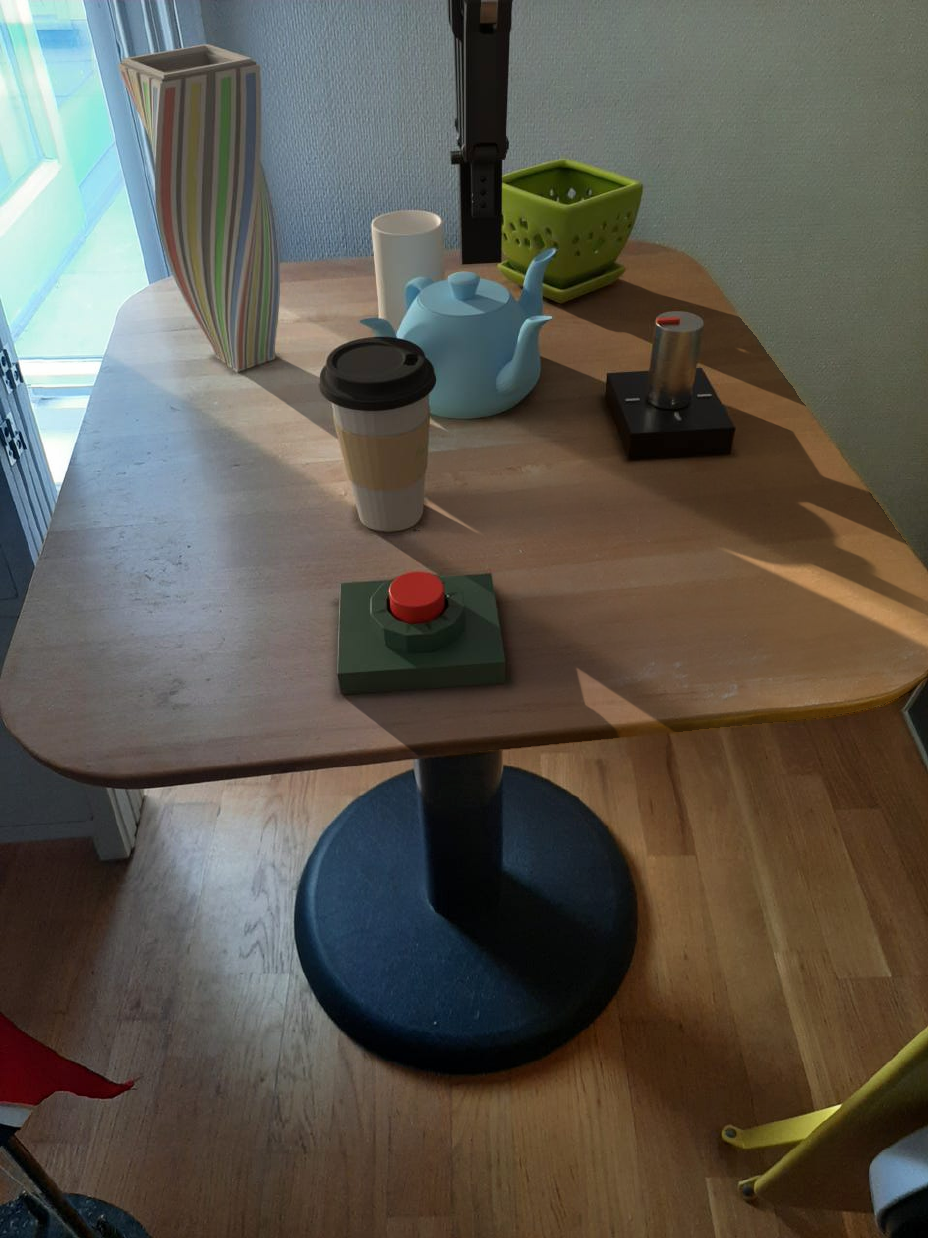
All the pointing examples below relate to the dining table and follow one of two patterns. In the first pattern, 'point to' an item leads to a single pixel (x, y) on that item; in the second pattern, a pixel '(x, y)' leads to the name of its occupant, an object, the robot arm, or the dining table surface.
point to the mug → (405, 257)
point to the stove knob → (674, 359)
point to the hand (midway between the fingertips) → (480, 259)
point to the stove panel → (667, 420)
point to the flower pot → (567, 225)
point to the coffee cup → (382, 425)
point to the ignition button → (416, 597)
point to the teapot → (475, 339)
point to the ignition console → (419, 639)
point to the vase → (213, 193)
